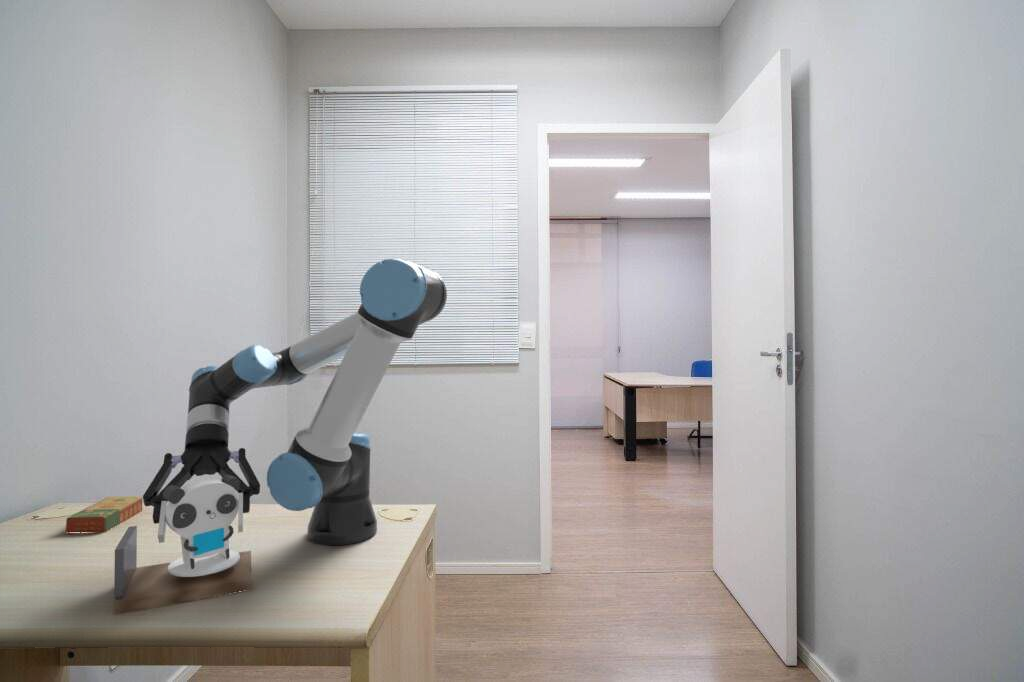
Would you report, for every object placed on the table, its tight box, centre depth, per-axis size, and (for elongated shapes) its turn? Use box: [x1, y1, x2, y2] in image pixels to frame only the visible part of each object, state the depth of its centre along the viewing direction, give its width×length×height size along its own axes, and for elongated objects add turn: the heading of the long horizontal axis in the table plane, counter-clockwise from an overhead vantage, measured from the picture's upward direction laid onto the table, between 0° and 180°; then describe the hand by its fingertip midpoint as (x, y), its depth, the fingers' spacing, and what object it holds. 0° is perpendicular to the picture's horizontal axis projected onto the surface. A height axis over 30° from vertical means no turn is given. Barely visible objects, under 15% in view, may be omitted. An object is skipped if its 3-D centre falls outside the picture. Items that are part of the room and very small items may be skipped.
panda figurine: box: [163, 475, 240, 577], centre depth 98 cm, size 12×11×15 cm
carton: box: [65, 496, 143, 533], centre depth 130 cm, size 8×16×4 cm, turn 8°
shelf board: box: [112, 550, 253, 616], centre depth 97 cm, size 20×14×2 cm
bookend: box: [113, 525, 138, 601], centre depth 93 cm, size 1×12×8 cm, turn 26°
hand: (201, 533), depth 96 cm, fingers closed on panda figurine, 11 cm apart
